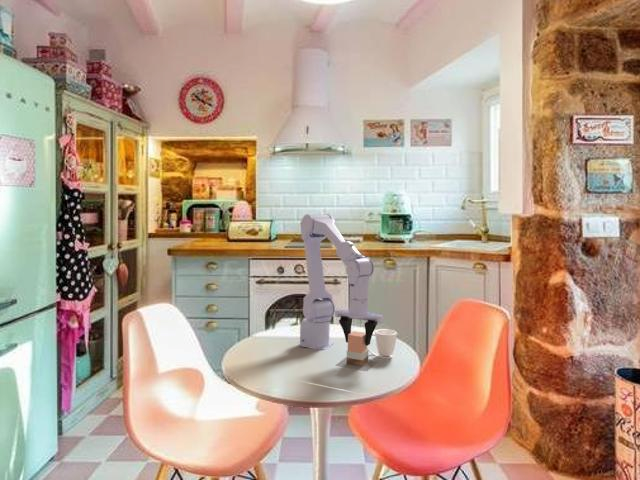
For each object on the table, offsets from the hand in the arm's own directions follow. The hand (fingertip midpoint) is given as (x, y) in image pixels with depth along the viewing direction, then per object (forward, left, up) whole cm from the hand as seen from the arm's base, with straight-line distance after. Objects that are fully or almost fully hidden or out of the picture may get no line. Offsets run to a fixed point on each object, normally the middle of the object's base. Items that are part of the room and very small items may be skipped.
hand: (357, 343), depth 142 cm
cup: (+4, +10, -7) cm, 13 cm away
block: (0, 0, -2) cm, 2 cm away
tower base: (0, 0, -6) cm, 6 cm away
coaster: (0, 0, -6) cm, 6 cm away
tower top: (0, 0, -4) cm, 4 cm away
